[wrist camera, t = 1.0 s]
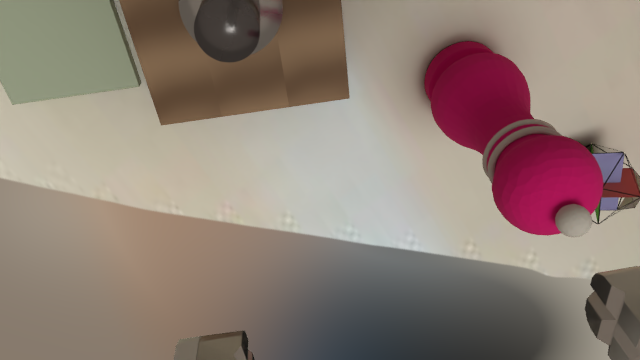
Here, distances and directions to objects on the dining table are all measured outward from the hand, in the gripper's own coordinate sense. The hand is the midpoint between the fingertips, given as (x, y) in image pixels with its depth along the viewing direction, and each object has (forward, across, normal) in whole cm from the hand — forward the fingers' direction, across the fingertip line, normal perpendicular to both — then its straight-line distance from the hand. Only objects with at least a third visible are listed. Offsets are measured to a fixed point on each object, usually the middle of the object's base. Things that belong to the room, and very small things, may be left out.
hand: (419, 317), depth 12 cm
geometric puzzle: (+32, -23, +20) cm, 44 cm away
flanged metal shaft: (+31, +6, -1) cm, 32 cm away
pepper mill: (+32, -11, +9) cm, 35 cm away
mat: (+31, +20, -1) cm, 37 cm away
